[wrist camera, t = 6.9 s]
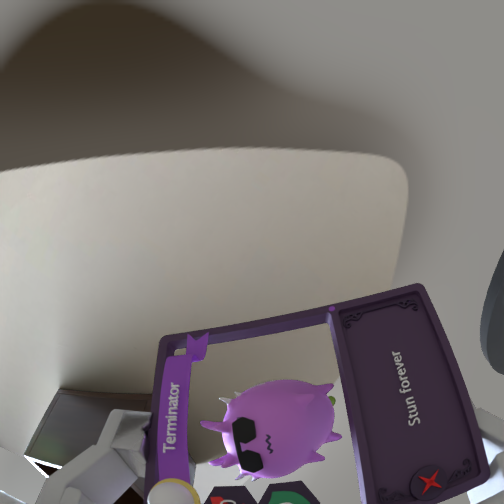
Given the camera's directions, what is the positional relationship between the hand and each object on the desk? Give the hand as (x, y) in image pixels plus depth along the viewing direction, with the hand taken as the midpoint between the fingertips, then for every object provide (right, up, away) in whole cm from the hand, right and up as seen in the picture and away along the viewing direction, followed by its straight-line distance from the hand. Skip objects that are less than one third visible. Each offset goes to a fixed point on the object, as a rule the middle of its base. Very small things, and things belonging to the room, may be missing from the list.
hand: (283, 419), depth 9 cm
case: (-16, -18, +25) cm, 35 cm away
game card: (+1, +1, +2) cm, 3 cm away
